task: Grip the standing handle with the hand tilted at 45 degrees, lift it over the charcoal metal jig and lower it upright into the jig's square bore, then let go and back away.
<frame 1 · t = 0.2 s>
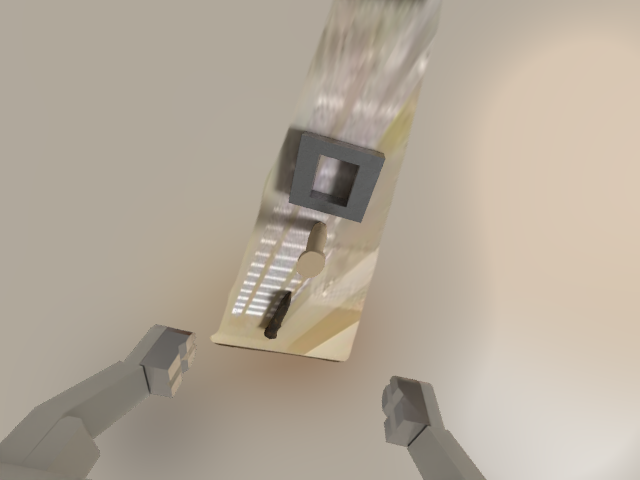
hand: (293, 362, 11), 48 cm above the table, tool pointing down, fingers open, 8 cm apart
handle: (320, 226, 62), on the table
hand tool: (279, 309, 79), on the table
jig: (335, 175, 55), on the table
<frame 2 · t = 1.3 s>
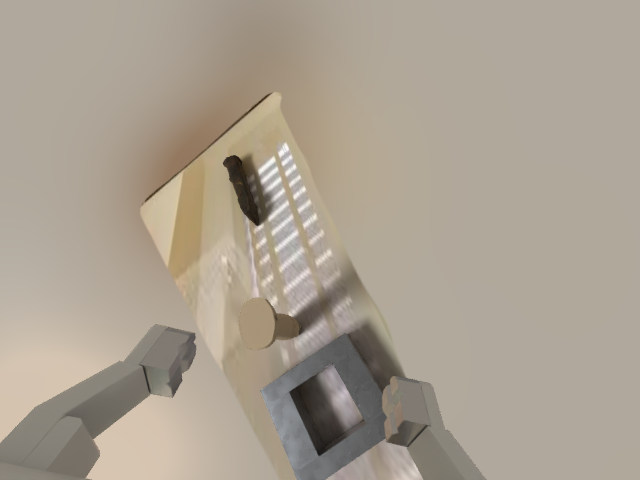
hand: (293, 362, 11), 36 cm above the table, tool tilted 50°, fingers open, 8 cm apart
handle: (293, 328, 47), on the table
hand tool: (249, 193, 61), on the table
jig: (330, 401, 42), on the table
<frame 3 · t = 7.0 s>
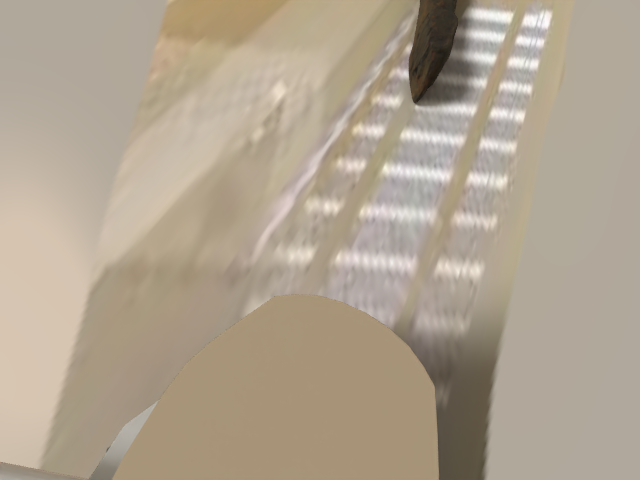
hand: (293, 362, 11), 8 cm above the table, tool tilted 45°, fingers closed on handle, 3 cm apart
handle: (293, 343, 19), on the table, touching gripper
hand tool: (430, 33, 27), on the table
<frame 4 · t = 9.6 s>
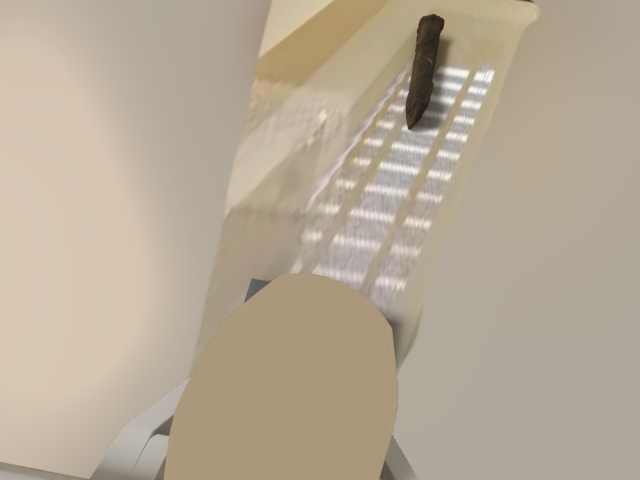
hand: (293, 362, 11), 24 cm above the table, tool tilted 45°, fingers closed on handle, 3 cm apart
handle: (292, 344, 21), point 14 cm above the table, touching gripper
hand tool: (419, 83, 43), on the table
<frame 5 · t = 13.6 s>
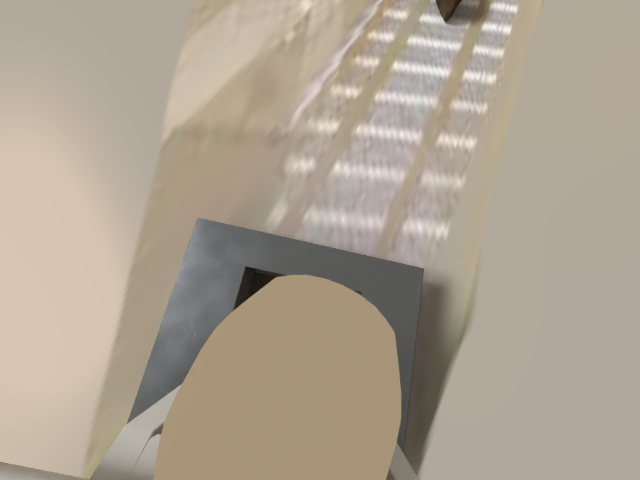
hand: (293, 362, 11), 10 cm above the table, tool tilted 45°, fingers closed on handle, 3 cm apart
handle: (293, 347, 20), resting in jig, touching gripper
jig: (290, 340, 20), on the table
when the fingers open (10 cm above the table, at t = 14.4 s): handle stays where it is, resting in jig.
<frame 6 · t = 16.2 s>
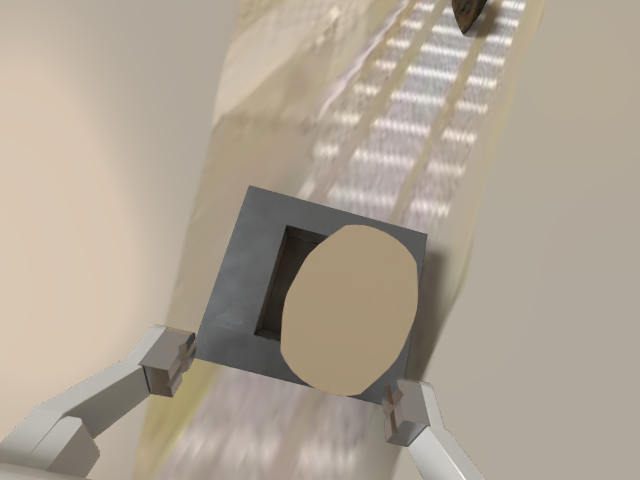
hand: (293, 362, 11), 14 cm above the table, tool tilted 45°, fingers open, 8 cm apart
handle: (317, 297, 25), resting in jig
jig: (315, 291, 25), on the table
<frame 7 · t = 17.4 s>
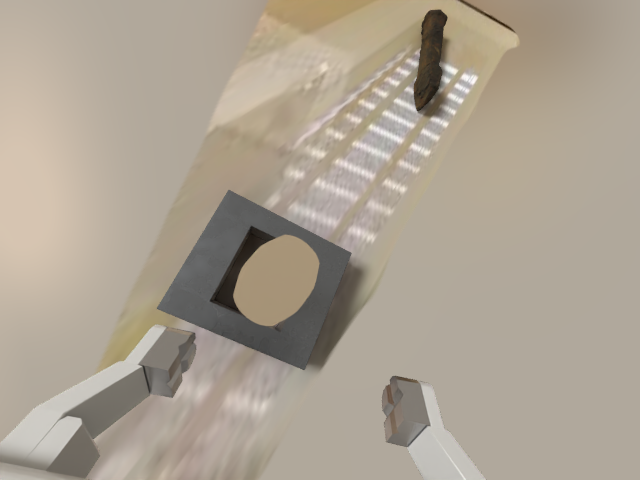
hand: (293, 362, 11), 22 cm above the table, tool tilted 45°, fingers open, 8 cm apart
handle: (264, 284, 32), resting in jig
hand tool: (423, 71, 47), on the table
jig: (263, 279, 32), on the table
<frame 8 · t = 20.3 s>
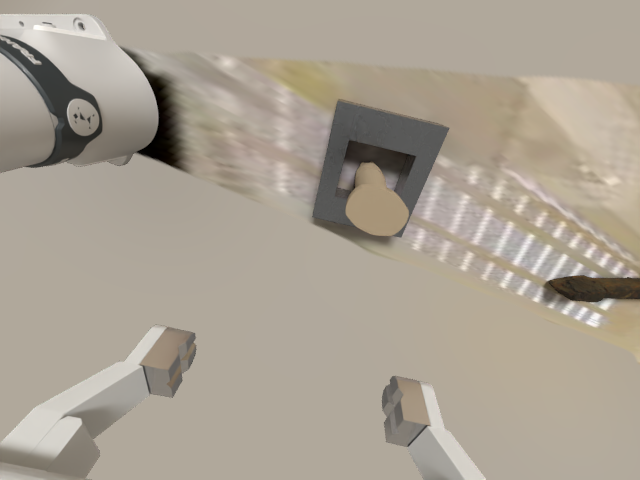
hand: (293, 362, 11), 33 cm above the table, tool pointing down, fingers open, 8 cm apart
handle: (367, 170, 39), resting in jig
hand tool: (602, 281, 46), on the table
jig: (371, 169, 39), on the table
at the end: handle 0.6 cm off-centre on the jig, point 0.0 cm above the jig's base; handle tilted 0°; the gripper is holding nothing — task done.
